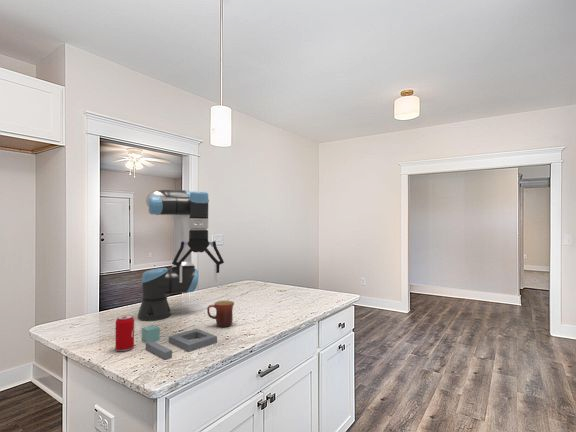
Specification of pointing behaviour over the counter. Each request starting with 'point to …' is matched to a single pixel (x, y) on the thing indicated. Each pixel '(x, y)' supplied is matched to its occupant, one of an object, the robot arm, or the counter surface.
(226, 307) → the mug
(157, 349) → the grey flat pieces
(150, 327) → the teal cube block
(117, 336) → the beverage can
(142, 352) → the counter surface
